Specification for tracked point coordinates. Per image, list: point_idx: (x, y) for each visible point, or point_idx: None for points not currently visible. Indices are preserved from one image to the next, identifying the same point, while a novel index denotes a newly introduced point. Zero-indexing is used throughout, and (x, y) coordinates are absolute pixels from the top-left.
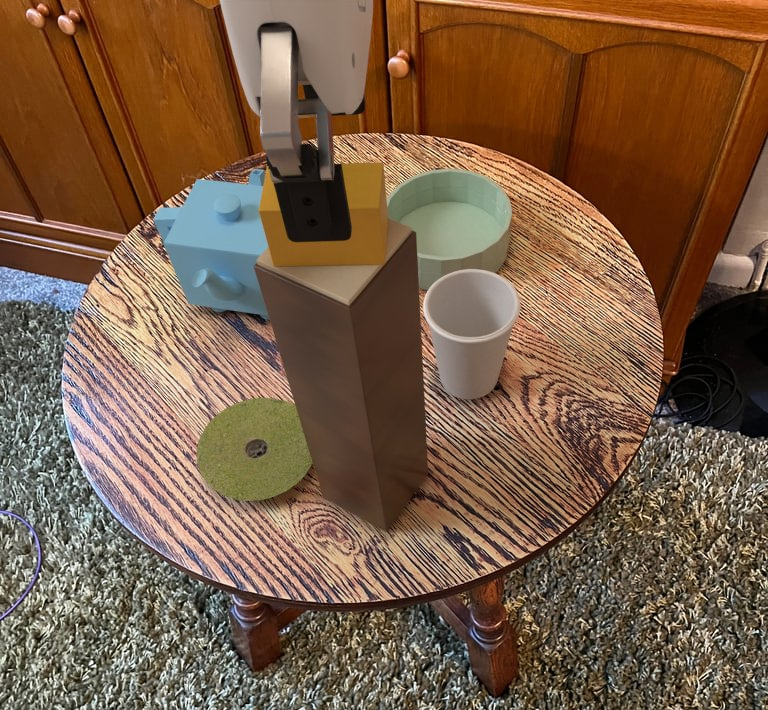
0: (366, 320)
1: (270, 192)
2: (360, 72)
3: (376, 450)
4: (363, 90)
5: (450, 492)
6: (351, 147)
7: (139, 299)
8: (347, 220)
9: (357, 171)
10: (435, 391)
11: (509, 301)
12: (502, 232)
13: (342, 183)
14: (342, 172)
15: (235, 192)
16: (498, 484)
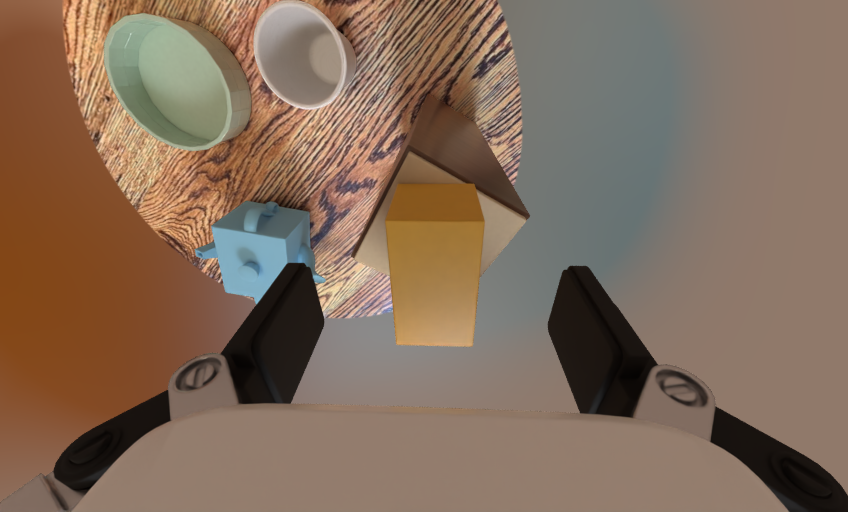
0: (503, 189)
1: (443, 339)
2: (677, 503)
3: (486, 144)
4: (634, 433)
5: (443, 73)
6: (119, 178)
7: None
8: (600, 285)
9: (405, 252)
10: (352, 90)
11: (282, 14)
12: (173, 25)
13: (635, 335)
14: (626, 344)
15: (229, 267)
16: (436, 28)
